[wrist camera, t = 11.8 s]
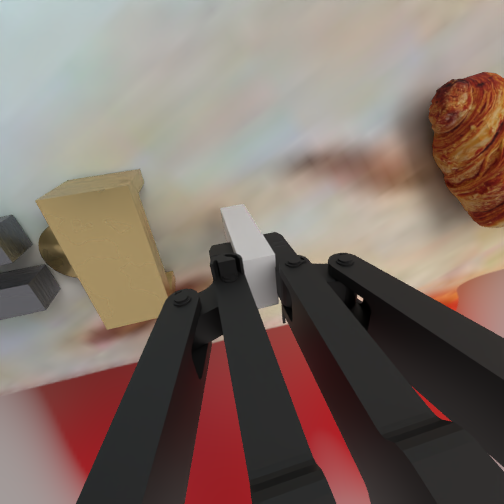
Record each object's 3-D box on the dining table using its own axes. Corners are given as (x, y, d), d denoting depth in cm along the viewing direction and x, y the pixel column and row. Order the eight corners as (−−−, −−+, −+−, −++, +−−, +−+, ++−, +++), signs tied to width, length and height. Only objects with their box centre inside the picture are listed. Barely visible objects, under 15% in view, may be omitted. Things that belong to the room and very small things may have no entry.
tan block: (139, 169, 15) (128, 185, 12) (175, 279, 19) (173, 313, 16) (67, 180, 15) (35, 200, 11) (120, 291, 19) (107, 329, 16)
